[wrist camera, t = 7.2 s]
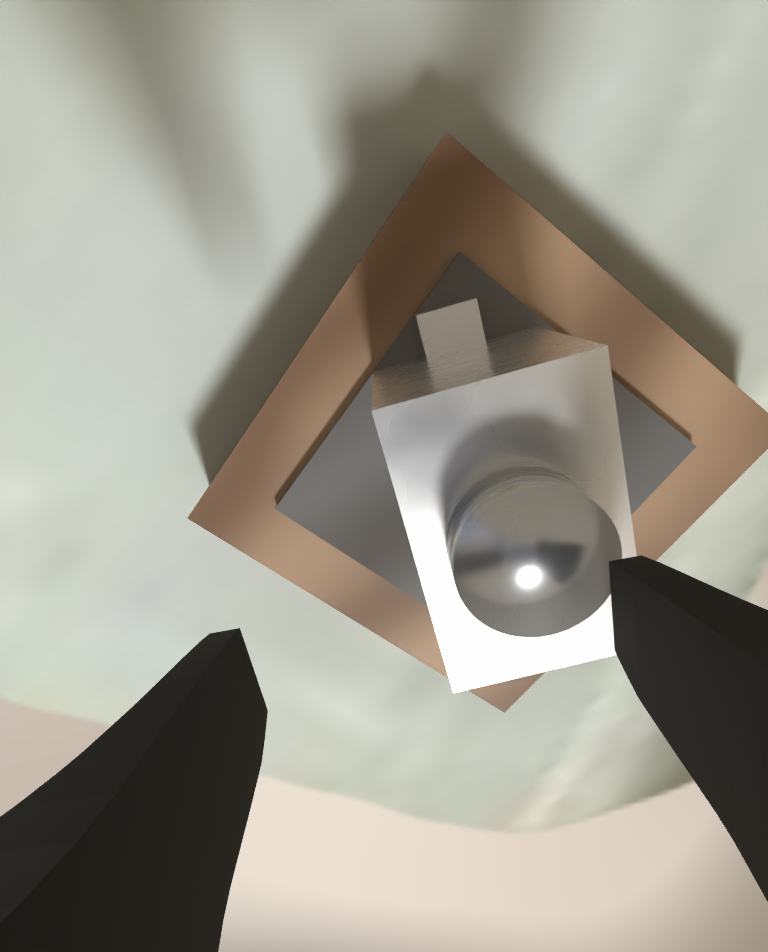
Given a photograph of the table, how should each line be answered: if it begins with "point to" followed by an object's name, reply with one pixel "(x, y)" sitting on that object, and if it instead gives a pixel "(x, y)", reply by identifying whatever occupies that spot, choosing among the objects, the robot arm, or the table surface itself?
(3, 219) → the table surface
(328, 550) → the stand
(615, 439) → the housing
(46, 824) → the robot arm
